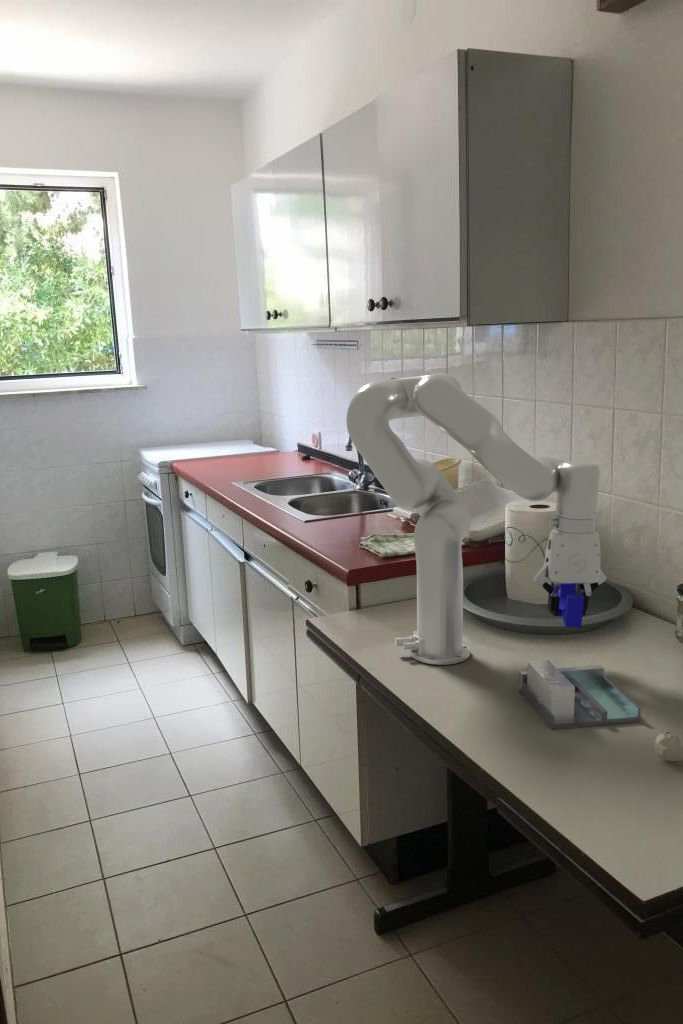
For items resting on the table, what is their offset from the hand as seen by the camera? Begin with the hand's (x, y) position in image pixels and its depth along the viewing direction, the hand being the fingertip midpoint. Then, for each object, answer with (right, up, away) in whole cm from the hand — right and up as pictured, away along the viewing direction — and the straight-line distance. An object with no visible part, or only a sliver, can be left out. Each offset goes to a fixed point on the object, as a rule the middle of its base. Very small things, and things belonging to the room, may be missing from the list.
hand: (567, 612), depth 166 cm
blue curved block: (0, -1, 0) cm, 1 cm away
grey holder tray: (-2, -15, -15) cm, 22 cm away
